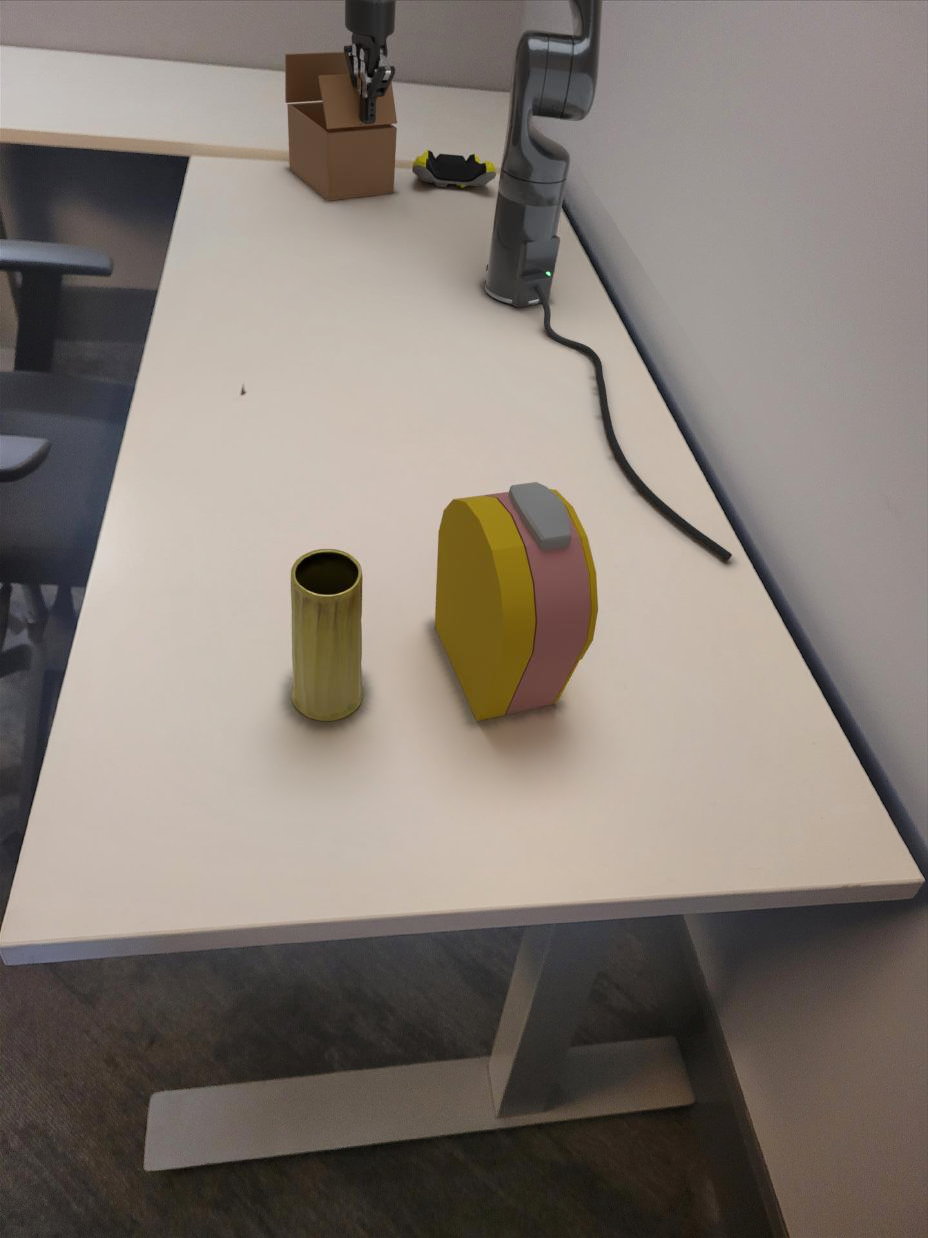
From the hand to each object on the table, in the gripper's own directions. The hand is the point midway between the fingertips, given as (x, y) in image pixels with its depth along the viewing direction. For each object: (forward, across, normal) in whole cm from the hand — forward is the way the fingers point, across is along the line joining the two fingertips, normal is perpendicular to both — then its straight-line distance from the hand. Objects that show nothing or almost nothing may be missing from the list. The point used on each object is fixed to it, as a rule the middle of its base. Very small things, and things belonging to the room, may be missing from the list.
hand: (367, 121), depth 139 cm
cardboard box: (+12, +9, 0) cm, 15 cm away
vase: (+12, -95, +55) cm, 110 cm away
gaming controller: (+12, +2, -19) cm, 23 cm away
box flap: (-2, +3, 0) cm, 4 cm away
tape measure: (+12, -98, +40) cm, 107 cm away
